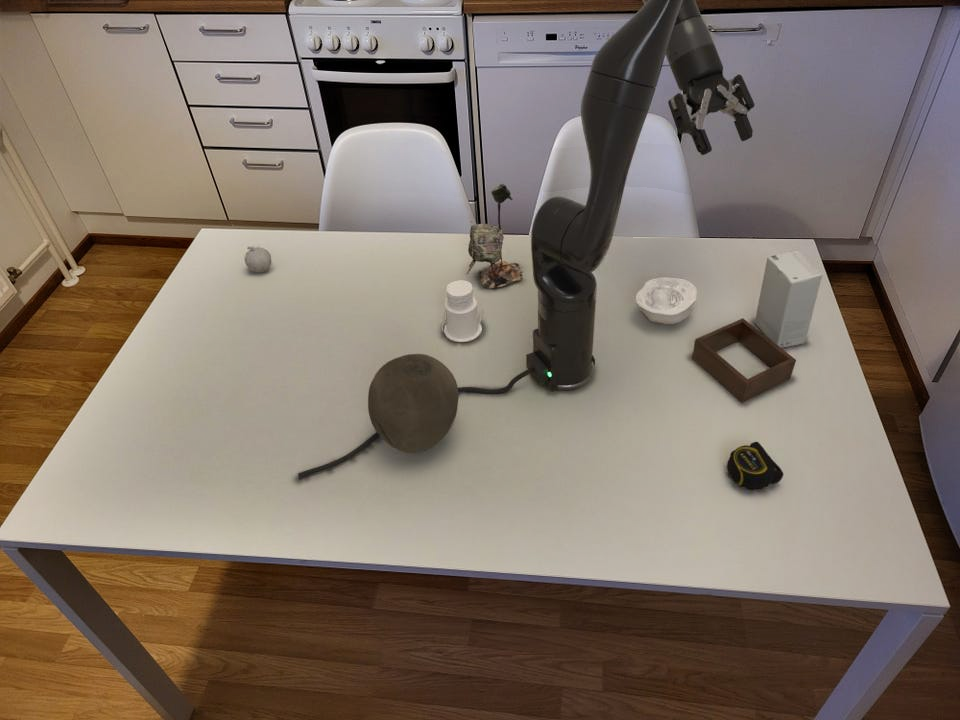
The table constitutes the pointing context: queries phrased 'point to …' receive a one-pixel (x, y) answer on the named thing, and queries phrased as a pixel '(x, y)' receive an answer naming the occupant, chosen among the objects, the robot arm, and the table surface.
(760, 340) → the crate
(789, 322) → the cosmetic box
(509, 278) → the plant with pod
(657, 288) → the cell model
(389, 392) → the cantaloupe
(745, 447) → the tape measure
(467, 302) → the downlight
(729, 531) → the table surface
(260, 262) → the garlic
